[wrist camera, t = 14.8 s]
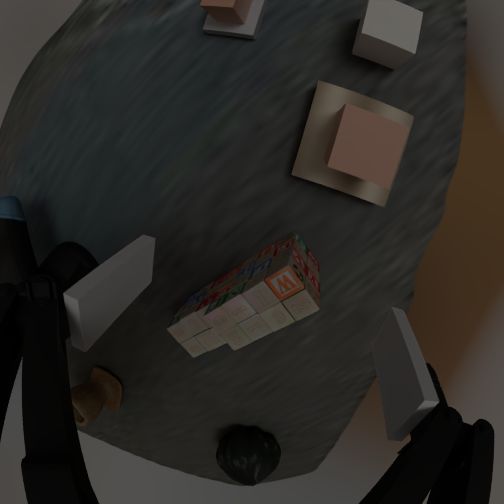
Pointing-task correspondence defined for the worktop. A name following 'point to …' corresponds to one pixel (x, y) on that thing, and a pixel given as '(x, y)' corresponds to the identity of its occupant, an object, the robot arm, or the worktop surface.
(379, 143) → the terracotta block
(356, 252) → the worktop surface
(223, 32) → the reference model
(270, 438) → the squash
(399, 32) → the off-white block
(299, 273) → the stack of blocks
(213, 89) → the worktop surface
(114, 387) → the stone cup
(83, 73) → the worktop surface
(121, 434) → the worktop surface
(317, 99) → the birch base block
